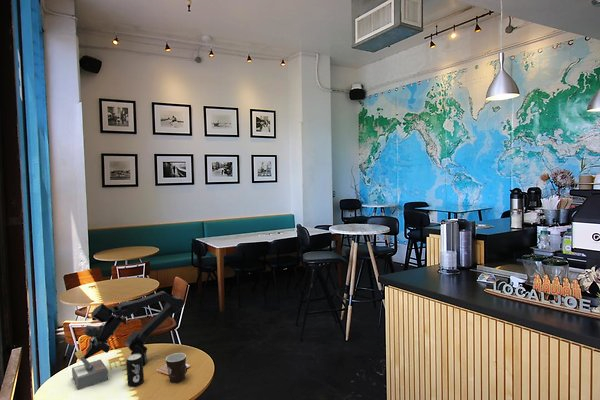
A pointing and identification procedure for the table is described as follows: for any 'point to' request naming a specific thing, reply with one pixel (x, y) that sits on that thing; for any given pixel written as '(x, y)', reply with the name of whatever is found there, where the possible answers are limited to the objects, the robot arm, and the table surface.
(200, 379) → the table surface
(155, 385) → the table surface
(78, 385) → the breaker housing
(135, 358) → the beverage can
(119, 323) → the robot arm
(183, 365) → the coffee mug
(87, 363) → the breaker lever
